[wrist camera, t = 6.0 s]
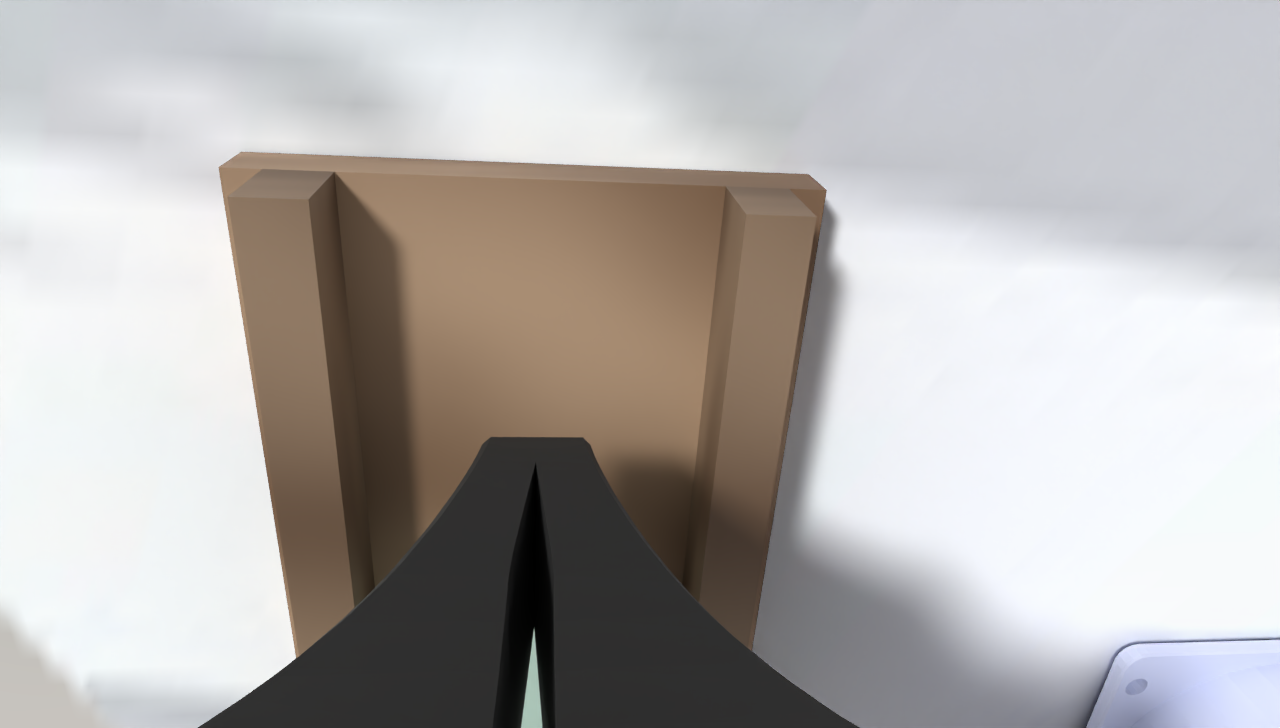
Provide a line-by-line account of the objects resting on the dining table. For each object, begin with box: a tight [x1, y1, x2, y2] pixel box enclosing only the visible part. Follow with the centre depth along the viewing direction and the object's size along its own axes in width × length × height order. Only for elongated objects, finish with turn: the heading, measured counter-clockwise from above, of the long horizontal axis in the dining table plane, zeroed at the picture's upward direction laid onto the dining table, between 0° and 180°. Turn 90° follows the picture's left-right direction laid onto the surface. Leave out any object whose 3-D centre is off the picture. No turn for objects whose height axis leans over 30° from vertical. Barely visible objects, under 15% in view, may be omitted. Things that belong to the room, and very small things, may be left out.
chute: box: [219, 152, 827, 658], centre depth 15 cm, size 13×9×4 cm
